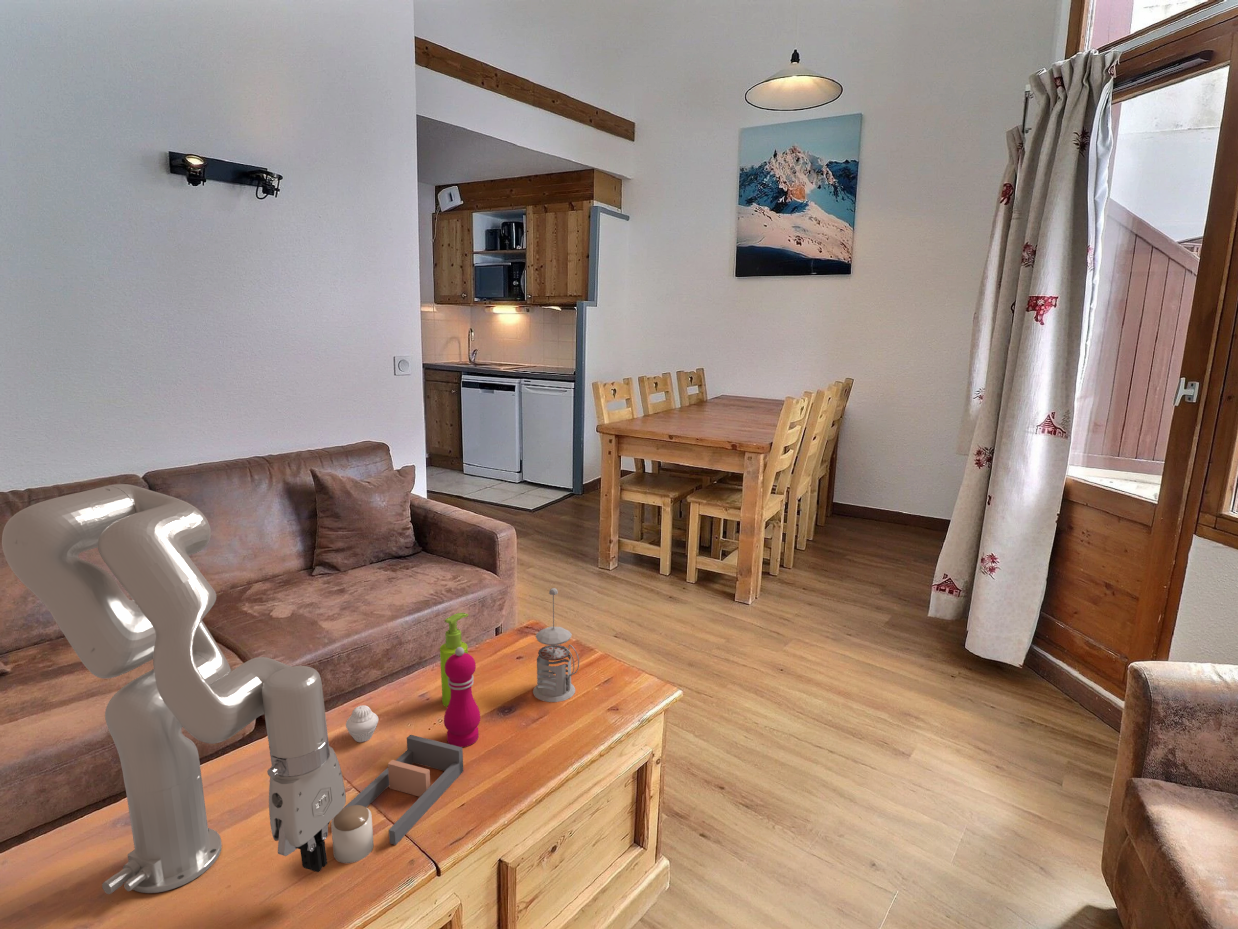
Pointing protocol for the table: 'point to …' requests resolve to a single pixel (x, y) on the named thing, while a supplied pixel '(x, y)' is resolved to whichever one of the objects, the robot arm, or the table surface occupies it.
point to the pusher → (408, 778)
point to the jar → (352, 834)
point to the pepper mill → (461, 700)
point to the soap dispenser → (450, 652)
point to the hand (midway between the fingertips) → (315, 866)
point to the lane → (433, 757)
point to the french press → (549, 684)
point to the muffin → (362, 723)
